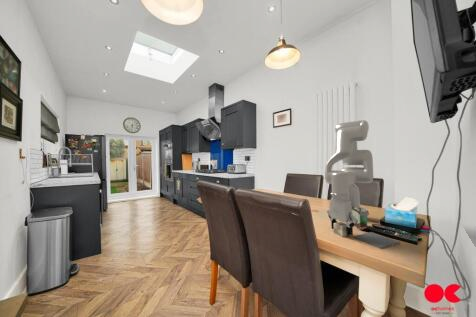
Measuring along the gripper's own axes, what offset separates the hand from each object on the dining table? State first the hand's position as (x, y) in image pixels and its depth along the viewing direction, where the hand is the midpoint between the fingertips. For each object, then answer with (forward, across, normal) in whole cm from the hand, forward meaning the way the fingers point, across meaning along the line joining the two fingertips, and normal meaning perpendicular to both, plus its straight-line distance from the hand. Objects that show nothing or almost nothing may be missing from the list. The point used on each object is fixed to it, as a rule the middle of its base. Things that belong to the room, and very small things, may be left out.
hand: (341, 231), depth 89 cm
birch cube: (+1, 0, 0) cm, 1 cm away
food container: (+1, -2, +17) cm, 17 cm away
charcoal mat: (+1, +11, +8) cm, 14 cm away
